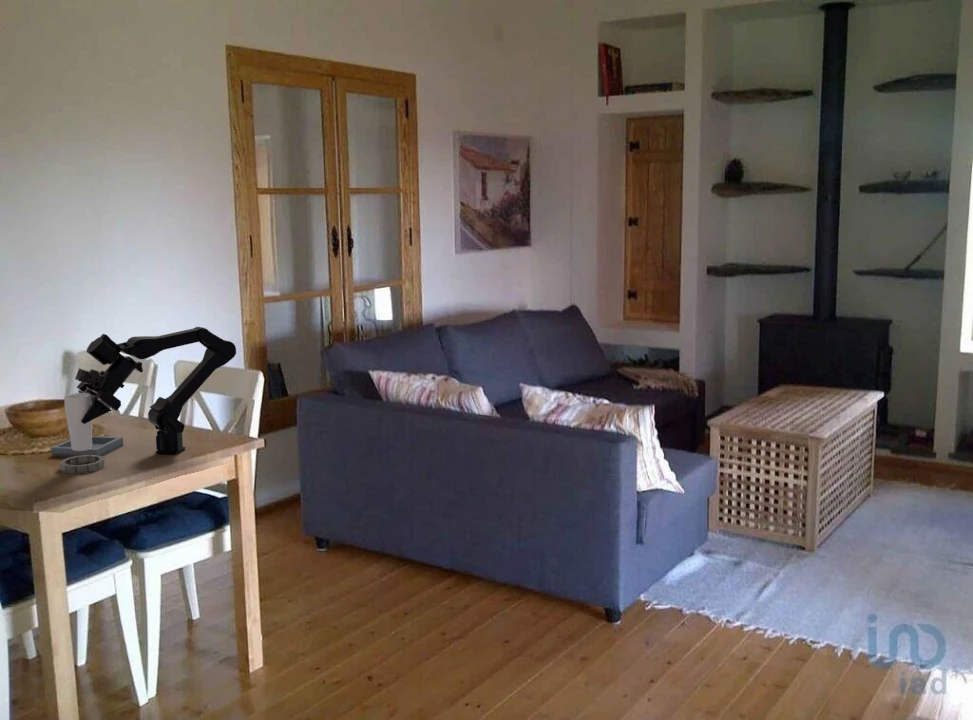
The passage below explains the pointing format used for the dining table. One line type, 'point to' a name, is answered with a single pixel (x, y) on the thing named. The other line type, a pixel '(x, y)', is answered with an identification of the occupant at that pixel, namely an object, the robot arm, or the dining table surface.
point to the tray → (99, 447)
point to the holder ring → (71, 467)
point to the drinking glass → (78, 420)
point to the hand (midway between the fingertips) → (78, 420)
